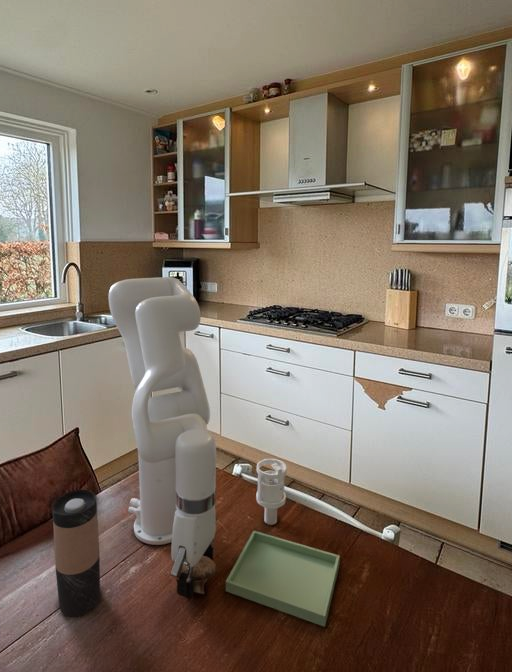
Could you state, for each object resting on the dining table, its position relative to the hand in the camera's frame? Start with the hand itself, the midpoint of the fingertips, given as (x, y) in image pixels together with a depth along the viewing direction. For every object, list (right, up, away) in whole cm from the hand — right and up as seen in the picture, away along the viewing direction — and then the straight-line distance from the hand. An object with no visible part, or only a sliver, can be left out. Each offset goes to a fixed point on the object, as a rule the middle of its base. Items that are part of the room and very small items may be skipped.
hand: (195, 578), depth 82 cm
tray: (+18, -1, +2) cm, 18 cm away
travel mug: (-21, -2, -3) cm, 22 cm away
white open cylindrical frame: (+16, +1, +19) cm, 25 cm away
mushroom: (0, -1, 0) cm, 2 cm away
